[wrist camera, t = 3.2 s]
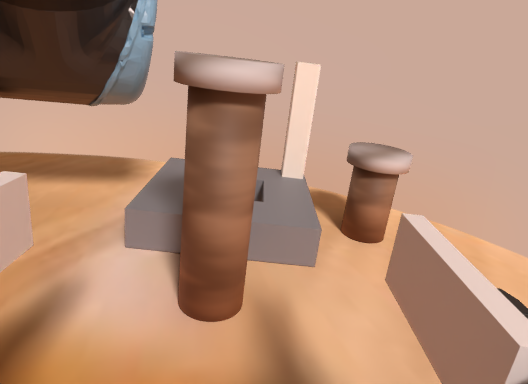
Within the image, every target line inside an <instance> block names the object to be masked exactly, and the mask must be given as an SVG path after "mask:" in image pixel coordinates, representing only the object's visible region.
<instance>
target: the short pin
mask: <svg viewBox="0 0 528 384" xmlns="http://www.w3.org/2000/svg"><path fill="white" fill-rule="evenodd" d="M412 158H413V155H412V154H411V153H409V152H407V151H404V150H402V149H398V148H395V147H391V146H386V145H381V144H374V143H361V142H360V143H352V144H350V146H349V151H348V156H347V162H348V163H350V164H351V165H353V166H354V168H353V172H352V177H351V182H350V187H349V192H348V197H347V202H346V207H345V211H344V216H343V221H342V226H341V231H342V233H343V234H344V235H346V236H347V237H349V238H351V239H353V240H356V241H359V242H364V243H378V242H381V241H382V240H383V238H384V234H385V230H386V226H387V221H388V217H389V213H390V209H391V205H392V201H393V197H394V193H395V189H396V185H397V181H398V177H399V174H406V173H408V172H409V169H410V165H411V161H412Z"/></svg>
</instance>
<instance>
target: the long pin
mask: <svg viewBox="0 0 528 384" xmlns="http://www.w3.org/2000/svg"><path fill="white" fill-rule="evenodd" d="M174 60H175V62H174V81H175V82H178V83H181V84H185V85H188V105H187V106H188V107H187V126H186V149H185V169H184V190H183V211H182V233H181V254H180V275H179V297H178V304H179V307H180V309H181V310H182V311H183V312H184V313H185V314H186V315H187V316H189V317H191V318H194V319H196V320H200V321H206V322H216V321H222V320H226V319H229V318H231V317H233V316H234V315H236V314H237V313H238V312H239V311H240V309H241V307H242V301H243V293H244V284H245V275H246V267H247V258H248V249H249V241H250V232H251V223H252V215H253V206H254V197H255V189H256V180H257V171H258V162H259V154H260V145H261V136H262V128H263V119H264V110H265V102H266V94H278V93H280V92H281V86H282V79H283V71H284V64H279V63H273V62H266V61H259V60H251V59H242V58H235V57H227V56H218V55H210V54H201V53H191V52H180V51H175V59H174Z"/></svg>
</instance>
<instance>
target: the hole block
mask: <svg viewBox="0 0 528 384" xmlns="http://www.w3.org/2000/svg"><path fill="white" fill-rule="evenodd" d="M320 67H321V65H318V64H310V63H303V62H296V67H295V74H294V83H293V90H292V97H291V103H290V111H289V118H288V126H287V132H286V140H285V147H284V155H283V162H282V169H281V170H276V169H267V168H259V167H258V171H257V180H256V189H255V197H254V206H253V215H252V223H251V232H250V241H249V249H248V258H247V260H254V261H263V262H273V263H282V264H292V265H302V266H311V267H315V263H316V257H317V252H318V246H319V241H320V236H321V230H322V229H321V226H320V223H319V220H318V217H317V214H316V211H315V208H314V205H313V201H312V198H311V195H310V192H309V189H308V186H307V183H306V180H305V177H304V169H305V162H306V156H307V149H308V143H309V136H310V131H311V125H312V118H313V112H314V106H315V100H316V93H317V87H318V81H319V74H320ZM184 169H185V159H179V158H170V159H169V160H168V161H167V163H166V164H165V165H164V166H163V167H162V168H161V169H160V170H159V171H158V172H157V174H156V175H155V176H154V177H153V178H152V179H151V180H150V181H149V182H148V184H147V185H146V186H145V187H144V188H143V189H142V190H141V191H140V192H139V193H138V195H137V196H136V197H135V198H134V199H133V200H132V201H131V202H130V203H129V205H128V206H127V207H126V208H125V247H128V248H138V249H147V250H157V251H167V252H176V253H181V233H182V211H183V190H184Z"/></svg>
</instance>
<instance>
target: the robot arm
mask: <svg viewBox="0 0 528 384" xmlns="http://www.w3.org/2000/svg"><path fill="white" fill-rule="evenodd" d="M156 12H157V0H0V98H1V97H2V98H13V99H24V100H36V101H48V102H60V103H73V104H83V105H90V106H97V105H99V104H121V105H122V104H123V105H124V104H130V103H132V102H134V101H136V100H137V99H138V98H139V97H140V95H141V94H142V92H143V89H144V87H145V84H146V80H147V76H148V72H149V66H150V60H151V55H152V47H153V32H154V26H155V21H156ZM32 246H33V235H32V225H31V215H30V204H29V194H28V184H27V173H18V172H8V171H3V172H0V272H1V271H3V270H4V269H5V268H6V267H7V266H9V265H10V264H11V263H12V262H14V261H15V260H16V259H17V258H18V257H20V256H21V255H22V254H23V253H25V252H26V251H27V250H28V249H29V248H31V247H32ZM385 281H386V283H387V284H388V286H389V288H390V290H391V292H392V293H393V295H394V297H395V299H396V301H397V303H398V304H399V306H400V308H401V310H402V312H403V314H404V315H405V317H406V319H407V321H408V323H409V325H410V326H411V328H412V330H413V332H414V334H415V335H416V337H417V339H418V341H419V343H420V345H421V346H422V348H423V350H424V352H425V354H426V356H427V357H428V359H429V361H430V363H431V365H432V367H433V368H434V370H435V372H436V374H437V376H438V377H439V379H440V381H441V383H442V384H528V308H527V307H525V306H524V305H523V304H522V303H521V302H520V301H519V300H518V299H516V298H514V297H513V296H511V295H510V294H508V293H506V292H505V291H503V290H502V289H498V288H496V287H495V286H494V285H493V284H492V283H491V282H490V281H489V280H488V279H487V278H486V277H485V276H484V275H483V274H482V273H481V272H480V271H479V270H478V269H477V268H476V267H475V266H474V265H473V264H471V263H470V262H469V261H468V260H467V259H466V258H465V257H464V256H463V255H462V254H461V253H460V252H459V251H458V250H457V249H456V248H455V247H454V246H453V245H452V244H451V243H450V242H449V241H448V240H447V239H446V238H445V237H444V236H443V235H442V234H441V233H440V232H439V231H438V230H437V229H436V228H435V227H434V226H433V225H432V224H431V223H430V222H429V221H428V220H427V219H426V218H425V217H424V216H423V215H414V214H404V213H402V215H401V219H400V223H399V227H398V231H397V235H396V239H395V243H394V247H393V251H392V255H391V259H390V262H389V266H388V270H387V274H386V278H385Z"/></svg>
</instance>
